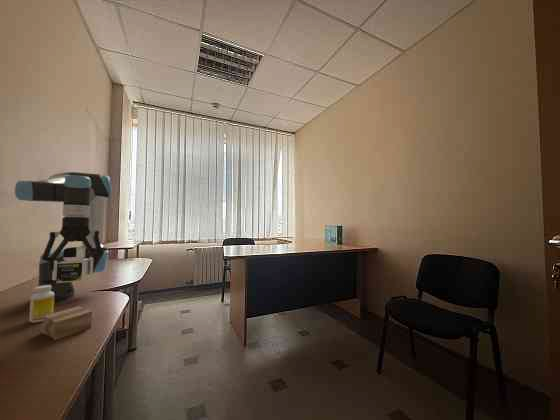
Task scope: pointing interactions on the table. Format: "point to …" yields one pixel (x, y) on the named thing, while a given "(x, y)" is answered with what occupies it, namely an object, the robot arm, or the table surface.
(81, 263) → the medicine bottle
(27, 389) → the table surface
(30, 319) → the supplement bottle
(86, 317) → the wooden block
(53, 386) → the table surface
